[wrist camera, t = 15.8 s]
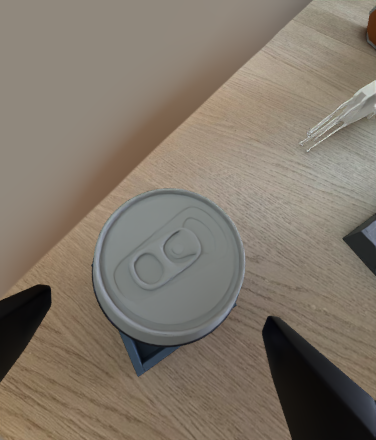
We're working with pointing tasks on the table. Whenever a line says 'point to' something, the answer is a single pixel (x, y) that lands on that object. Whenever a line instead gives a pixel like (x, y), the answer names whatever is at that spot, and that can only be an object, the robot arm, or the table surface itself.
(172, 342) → the beverage can
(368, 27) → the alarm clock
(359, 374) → the table surface
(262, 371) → the table surface
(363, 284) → the table surface
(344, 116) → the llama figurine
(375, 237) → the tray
